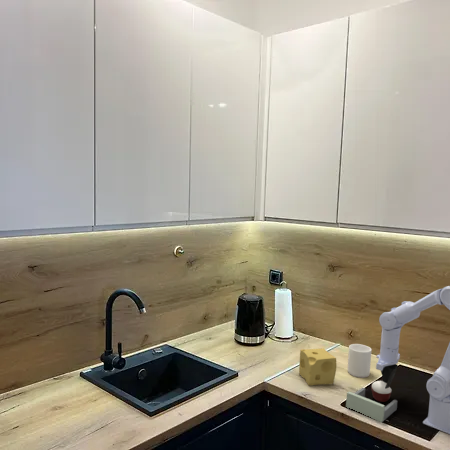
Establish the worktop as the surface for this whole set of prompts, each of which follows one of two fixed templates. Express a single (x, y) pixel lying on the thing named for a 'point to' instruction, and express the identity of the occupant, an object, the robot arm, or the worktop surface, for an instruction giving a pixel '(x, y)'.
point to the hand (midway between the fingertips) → (386, 384)
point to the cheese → (317, 366)
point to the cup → (359, 360)
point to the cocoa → (382, 389)
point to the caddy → (369, 406)
